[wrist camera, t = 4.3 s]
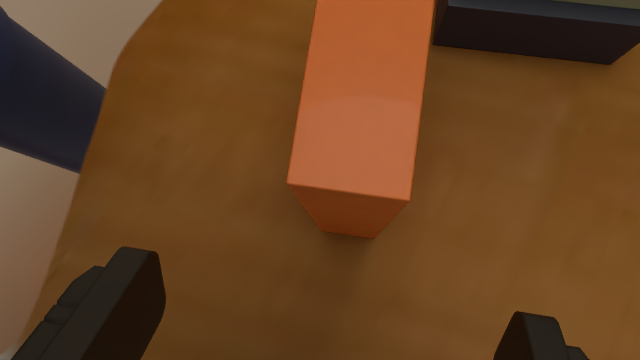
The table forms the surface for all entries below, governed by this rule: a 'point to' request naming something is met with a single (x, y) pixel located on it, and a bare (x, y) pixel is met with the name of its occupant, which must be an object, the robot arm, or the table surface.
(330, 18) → the orange box
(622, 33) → the box stack
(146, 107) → the table surface
